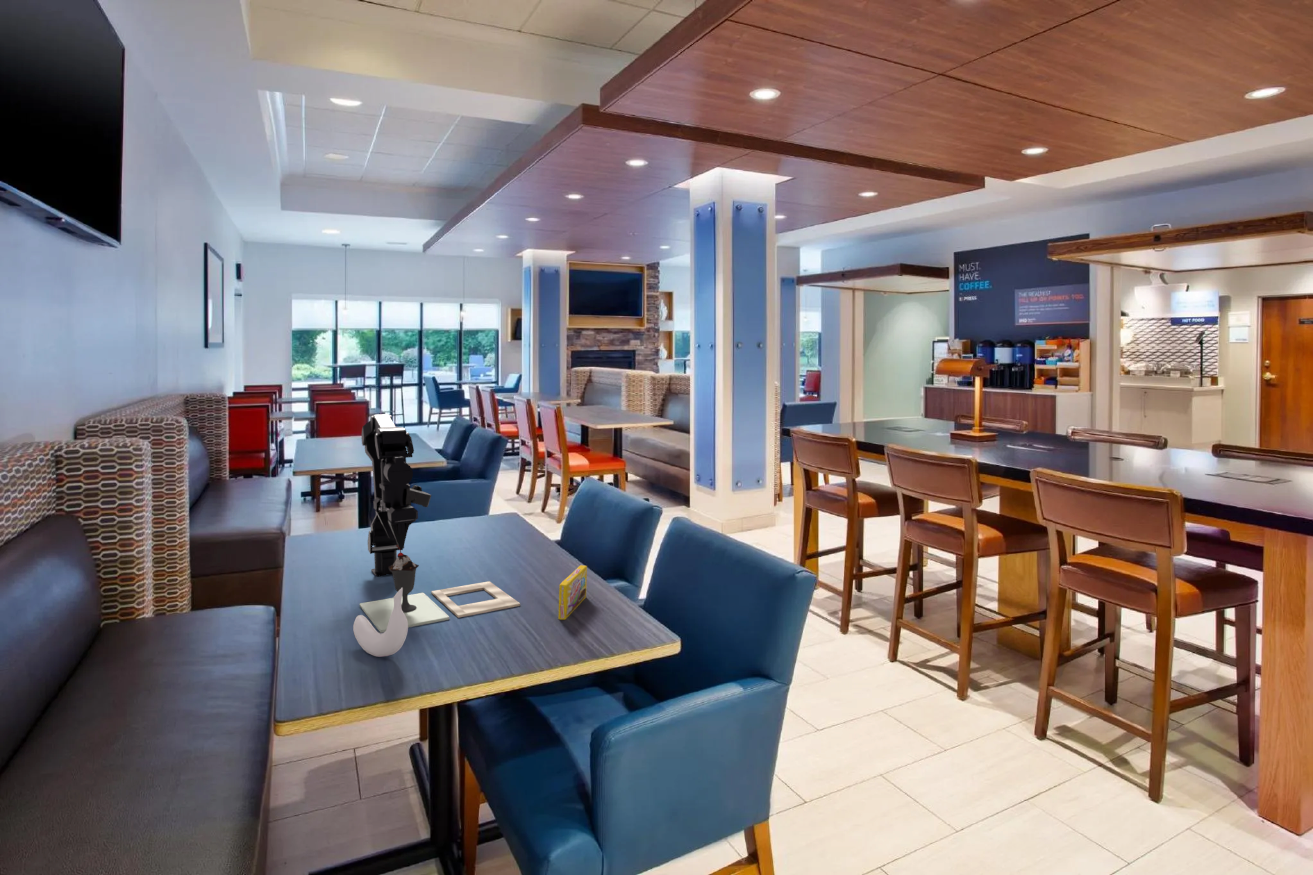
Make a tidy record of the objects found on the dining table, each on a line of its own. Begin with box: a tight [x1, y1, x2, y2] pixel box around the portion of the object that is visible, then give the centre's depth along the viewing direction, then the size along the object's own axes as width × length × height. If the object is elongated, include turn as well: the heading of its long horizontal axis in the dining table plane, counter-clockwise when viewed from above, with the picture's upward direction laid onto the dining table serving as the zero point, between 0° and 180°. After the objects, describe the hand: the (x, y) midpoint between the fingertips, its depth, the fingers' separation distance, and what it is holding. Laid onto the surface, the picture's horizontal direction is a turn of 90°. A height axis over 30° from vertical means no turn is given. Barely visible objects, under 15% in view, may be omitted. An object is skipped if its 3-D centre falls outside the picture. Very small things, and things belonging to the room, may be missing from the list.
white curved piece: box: [352, 588, 409, 658], centre depth 152 cm, size 5×19×15 cm, turn 52°
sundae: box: [388, 545, 420, 613], centre depth 175 cm, size 7×7×15 cm
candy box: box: [557, 564, 588, 621], centre depth 179 cm, size 16×2×8 cm, turn 168°
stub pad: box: [359, 592, 450, 634], centre depth 176 cm, size 20×15×1 cm
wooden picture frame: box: [430, 580, 521, 619], centre depth 185 cm, size 20×15×1 cm
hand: (396, 542), depth 187 cm, fingers open, 9 cm apart
